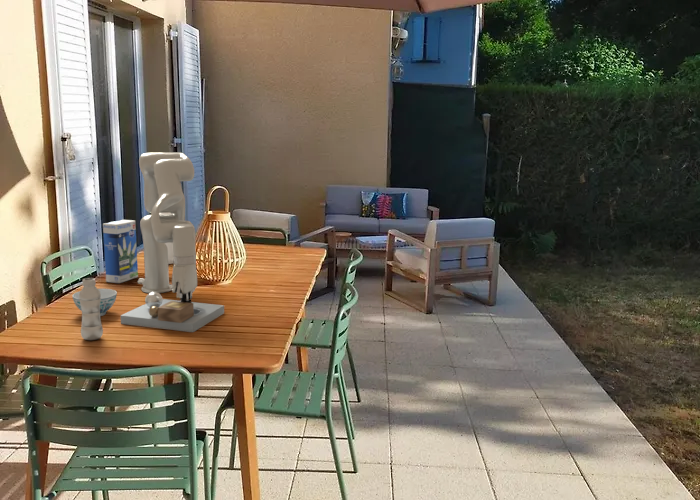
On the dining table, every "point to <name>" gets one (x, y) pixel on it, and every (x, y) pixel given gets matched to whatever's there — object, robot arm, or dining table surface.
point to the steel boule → (153, 299)
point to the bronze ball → (153, 311)
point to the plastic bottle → (90, 310)
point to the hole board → (201, 317)
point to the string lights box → (120, 251)
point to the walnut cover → (175, 311)
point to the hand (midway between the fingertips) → (186, 310)
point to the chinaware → (106, 300)
